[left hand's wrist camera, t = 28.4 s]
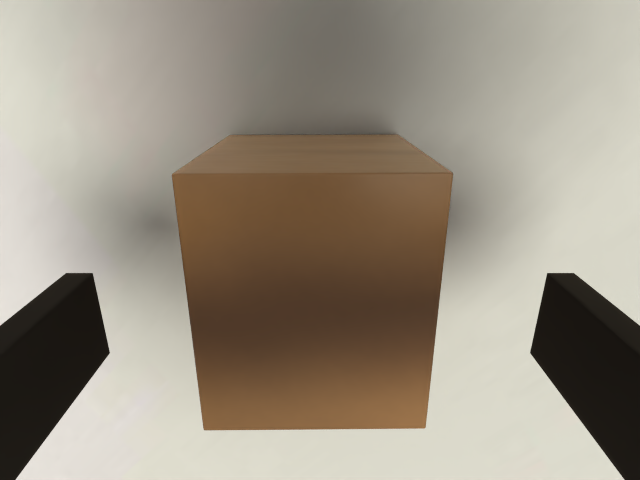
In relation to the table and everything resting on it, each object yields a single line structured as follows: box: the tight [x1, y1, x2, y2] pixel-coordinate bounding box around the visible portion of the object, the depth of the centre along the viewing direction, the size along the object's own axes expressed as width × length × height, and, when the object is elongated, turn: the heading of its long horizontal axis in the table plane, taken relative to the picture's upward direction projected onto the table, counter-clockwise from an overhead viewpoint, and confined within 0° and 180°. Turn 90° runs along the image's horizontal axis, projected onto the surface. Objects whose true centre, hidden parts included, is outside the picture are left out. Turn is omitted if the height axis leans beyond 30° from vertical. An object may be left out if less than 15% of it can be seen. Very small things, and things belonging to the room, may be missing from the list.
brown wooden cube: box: [172, 135, 453, 430], centre depth 17 cm, size 9×8×8 cm
